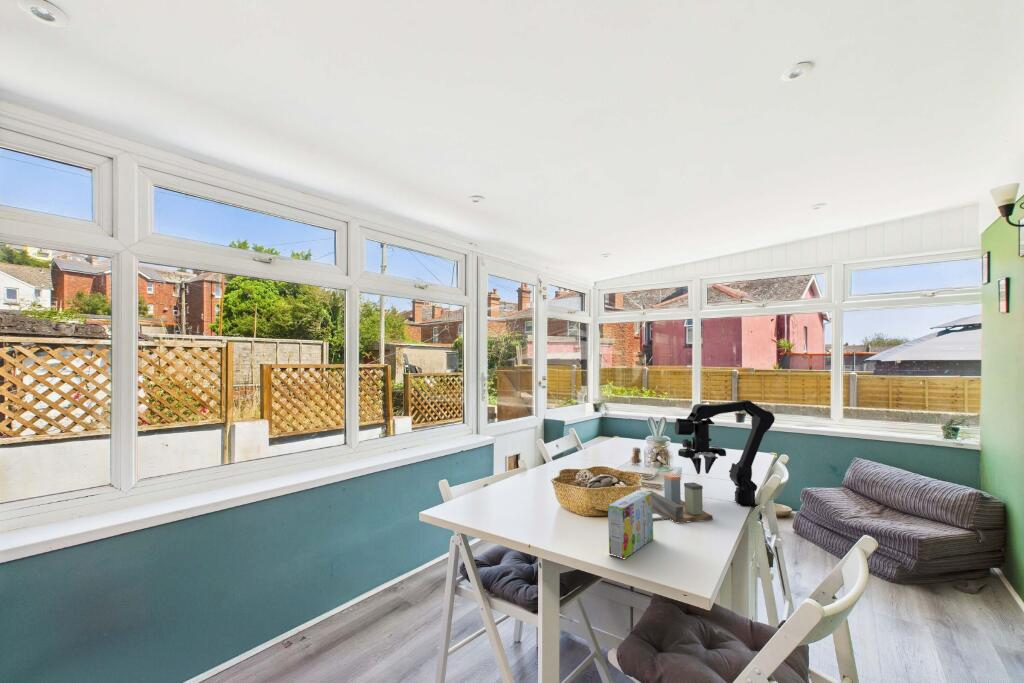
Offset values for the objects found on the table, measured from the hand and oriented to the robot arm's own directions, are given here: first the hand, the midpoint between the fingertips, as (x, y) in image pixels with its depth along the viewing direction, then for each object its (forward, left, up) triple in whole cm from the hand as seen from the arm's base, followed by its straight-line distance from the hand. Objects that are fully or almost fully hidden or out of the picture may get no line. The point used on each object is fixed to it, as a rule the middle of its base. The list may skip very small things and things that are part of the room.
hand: (702, 473), depth 189 cm
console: (+14, +11, -12) cm, 22 cm away
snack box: (+39, +46, -12) cm, 62 cm away
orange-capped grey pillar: (+14, +4, -10) cm, 17 cm away
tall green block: (+10, +17, -10) cm, 22 cm away
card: (+25, +14, -12) cm, 31 cm away
